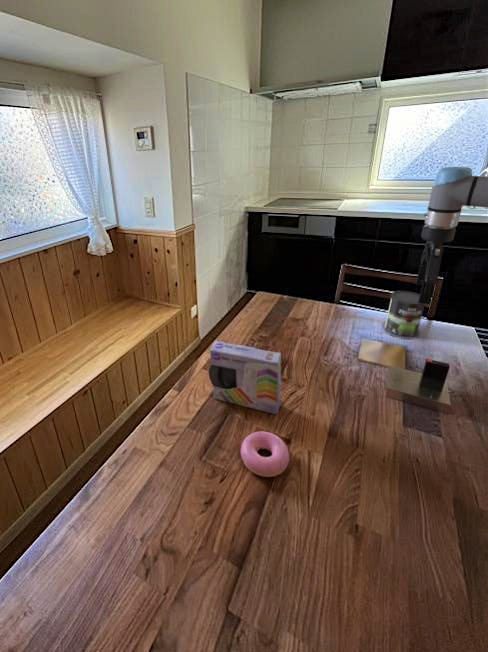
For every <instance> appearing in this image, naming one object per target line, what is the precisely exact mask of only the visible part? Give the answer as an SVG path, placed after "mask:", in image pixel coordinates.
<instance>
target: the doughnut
mask: <svg viewBox="0 0 488 652" xmlns="http://www.w3.org/2000/svg"><path fill="white" fill-rule="evenodd" d="M260 450H267V451H268V452H270V453H271V455H269V456H262V455H261V454H260V453H259V452H258V451H260ZM240 457H241V459H242V462H243V464H244V466H245V467H246V468H247V469H248V470H249V471H250V472H252V473H253V474H255V475H257V476H259V477H264V478H272V477H273V478H274V477H276V476H279V475H281V474H282V473H283V472H284V471H285V470H286V469H287V467H288V465H289V464H290V452H289V448H288V446H287V444H286V442H284V440H283V439H281V438H280V436H278V435H276V434H275V433H272V432H270V431H264V430H263V431H261V430H260V431H255V432H252V433H249V434H248V435H247V436H245V437H244V439H243V441H242V443H241V446H240Z"/></svg>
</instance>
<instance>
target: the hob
mask: <svg viewBox="0 0 488 652" xmlns="http://www.w3.org/2000/svg"><path fill="white" fill-rule="evenodd" d="M421 375H422V372H419V371H413V370H409V369H406V368H405V369H402V368H398V367H393V366H389V368H387V372H386V383H385V384H386V387H385V397H387V398H389V399H394V400H397V401H401V402H403V403H408V404H412V405H416V406H419V407H423V408H426V409H429V410H433V411H436V412H439V413H443V414H446V415H447V414H449V411H450V408H451V399H450V393H452V391H451V390H449V386H448V385H449V384H448V379H447V378H446V380H445V384H444V387H443V390H442V391H439V390H435V389H431V388H427V387H423V386H420V379H421Z"/></svg>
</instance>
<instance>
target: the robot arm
mask: <svg viewBox="0 0 488 652" xmlns="http://www.w3.org/2000/svg"><path fill="white" fill-rule="evenodd" d="M463 206H464V207H476V208H477V207H478V208H488V175H487V176H482V175H481V176H479V175H473V169H472V168H471V167H468V166H446V167H442V168H440V169H438V170H437V171H436V174H435V178H434V181H433V185H432V187H431V191H430V196H429V201H428V206H427V211H426V212H424V213H423V217H425V219H424V225H423V226H422V231H421V235H420V237H421V239H423V241H426V243H425V245H424V249H423V252H422V254H421V258H420V265H419V269H418V273H417V277H416V281H415V286H420V287H421V289H420V293H419V294H420V297H419V301H418V303H422V304H425V305H430V304H431V302H432V297H433V294H434V290H435V286H437V285H438V280H439V274H440V269H441V264H442V263H441V262H442V258H443V253H444V248H445V247H443V244H444V243H451V242H453V240H454V239H455V238H454V237H455V234H456V230H457V228H456V227H457V226H458V224H459V221H460V217H461V214H462V209H463Z"/></svg>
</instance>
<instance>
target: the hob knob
mask: <svg viewBox="0 0 488 652" xmlns="http://www.w3.org/2000/svg"><path fill="white" fill-rule="evenodd" d="M450 368H451V365H450V363H448V362H443V361H438V360H434V359H432V358H425V362H424V366H423V369H422V372H421V373H422V375H421V379H420V386H423V387H427V388H431V389H435V390H439V391H442V390H443V387H444V384H445V380H446V379H447V377H448V374H449V371H450Z"/></svg>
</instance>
